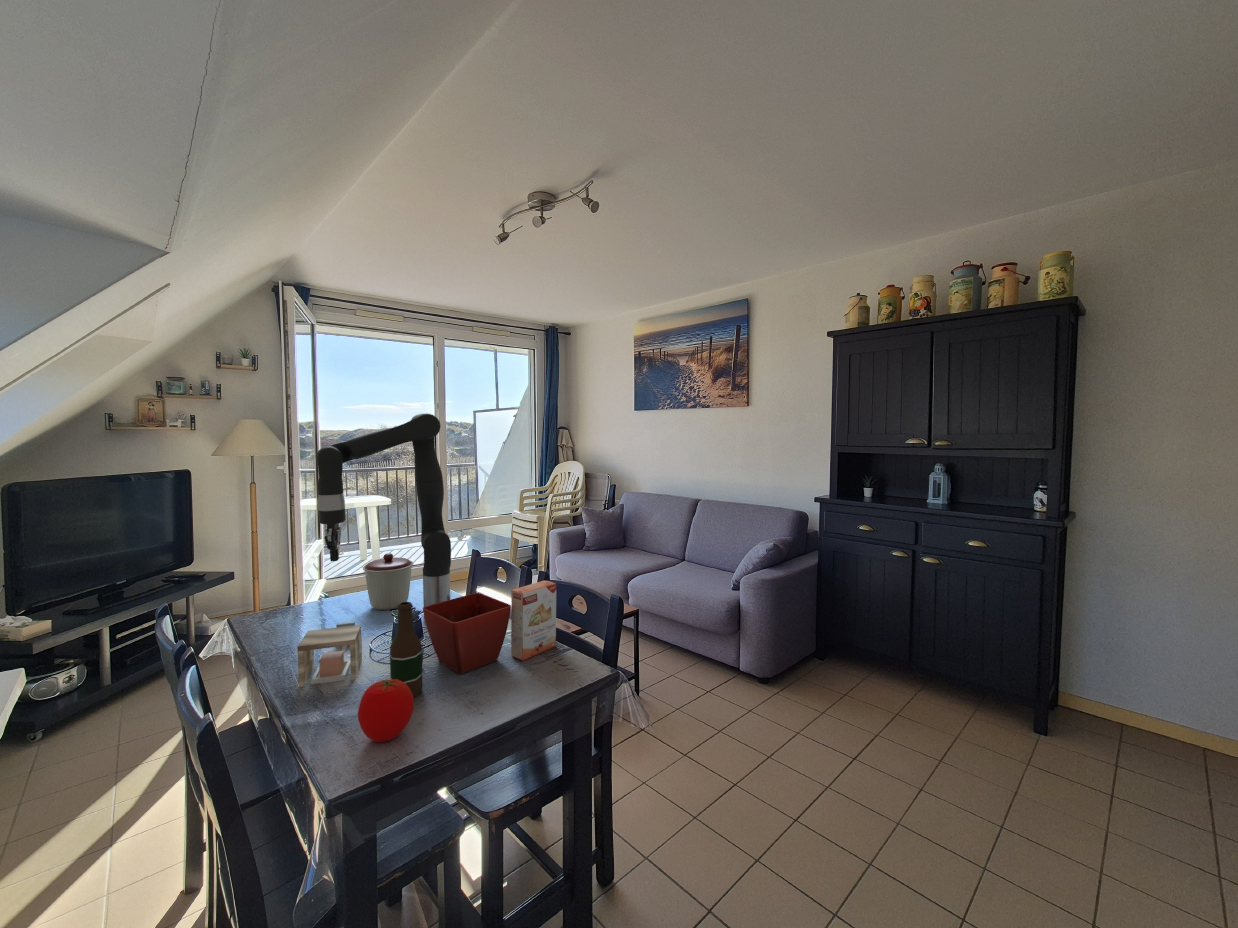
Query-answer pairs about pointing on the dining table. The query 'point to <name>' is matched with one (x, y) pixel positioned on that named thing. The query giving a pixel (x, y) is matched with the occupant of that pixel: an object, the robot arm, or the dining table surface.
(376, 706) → the tomato
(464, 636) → the plant pot
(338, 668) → the coral block
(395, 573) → the canister
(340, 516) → the robot arm
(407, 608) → the beer bottle
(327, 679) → the grey elongated piece
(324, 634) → the tunnel
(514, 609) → the cracker box
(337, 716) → the dining table surface
